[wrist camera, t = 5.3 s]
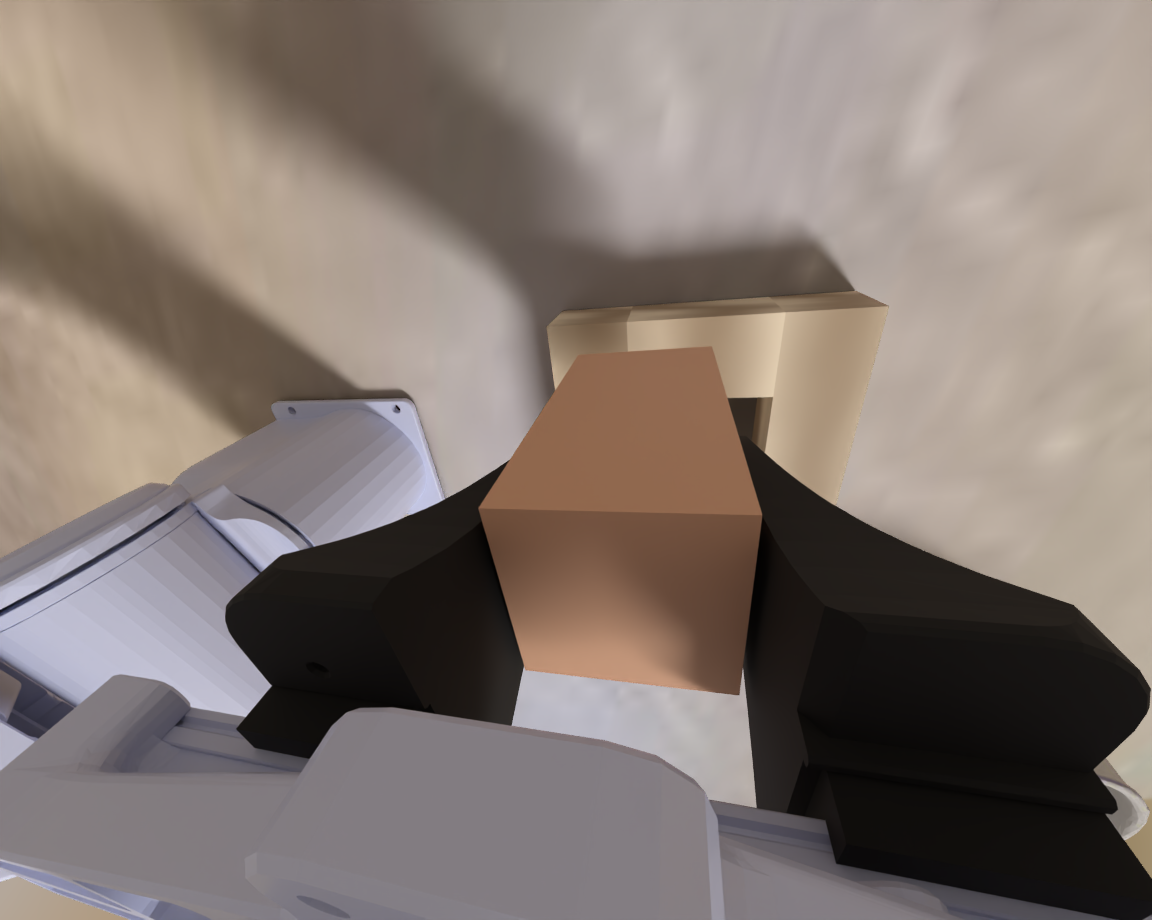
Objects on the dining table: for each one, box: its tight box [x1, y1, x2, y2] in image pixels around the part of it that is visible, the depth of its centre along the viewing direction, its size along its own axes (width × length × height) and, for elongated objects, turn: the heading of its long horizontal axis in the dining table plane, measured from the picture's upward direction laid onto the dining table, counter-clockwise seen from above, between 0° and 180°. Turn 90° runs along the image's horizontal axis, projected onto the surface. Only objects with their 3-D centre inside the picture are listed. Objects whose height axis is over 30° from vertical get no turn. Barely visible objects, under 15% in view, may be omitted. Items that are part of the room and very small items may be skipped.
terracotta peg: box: [478, 346, 762, 695], centre depth 10 cm, size 4×4×8 cm
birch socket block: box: [547, 291, 889, 506], centre depth 19 cm, size 12×12×3 cm
